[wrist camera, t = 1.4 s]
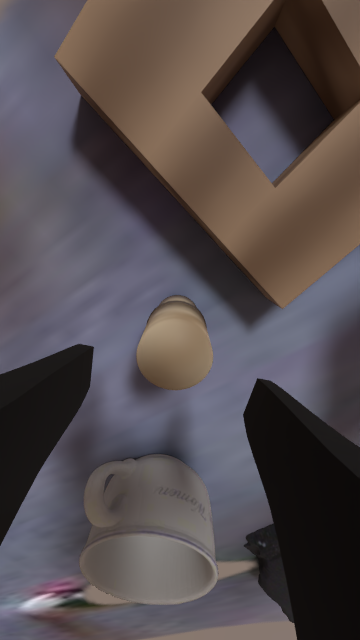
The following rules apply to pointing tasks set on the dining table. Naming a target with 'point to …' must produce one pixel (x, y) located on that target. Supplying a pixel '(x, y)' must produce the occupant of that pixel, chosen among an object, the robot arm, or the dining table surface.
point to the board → (214, 135)
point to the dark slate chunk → (270, 566)
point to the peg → (175, 345)
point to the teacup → (149, 532)
